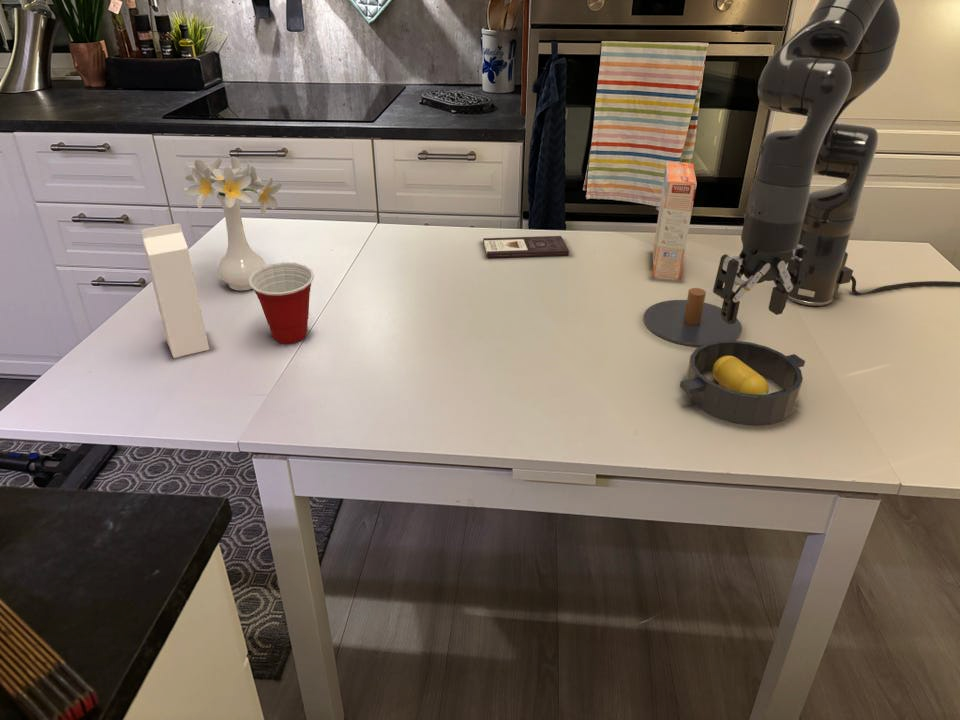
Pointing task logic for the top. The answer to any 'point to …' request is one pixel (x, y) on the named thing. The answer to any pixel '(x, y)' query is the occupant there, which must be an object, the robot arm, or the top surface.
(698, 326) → the lid
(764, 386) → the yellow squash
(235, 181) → the flower vase
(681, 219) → the cracker box
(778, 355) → the pan
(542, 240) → the chocolate bar
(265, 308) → the plastic cup
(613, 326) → the top surface
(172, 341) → the milk
